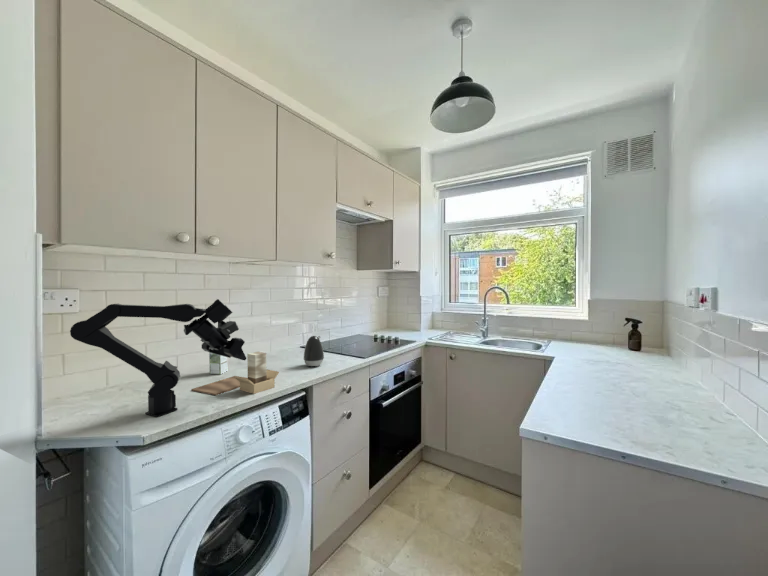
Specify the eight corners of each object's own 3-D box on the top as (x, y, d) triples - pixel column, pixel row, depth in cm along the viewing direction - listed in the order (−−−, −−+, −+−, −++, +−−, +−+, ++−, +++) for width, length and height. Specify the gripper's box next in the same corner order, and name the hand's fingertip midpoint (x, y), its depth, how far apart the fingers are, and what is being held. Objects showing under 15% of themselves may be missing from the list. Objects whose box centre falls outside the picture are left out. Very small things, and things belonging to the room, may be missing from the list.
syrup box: (228, 371, 151) (227, 341, 151) (220, 374, 145) (220, 343, 145) (216, 371, 152) (216, 341, 152) (208, 374, 146) (208, 343, 146)
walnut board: (216, 395, 117) (216, 393, 117) (191, 390, 123) (191, 389, 123) (258, 380, 136) (258, 379, 136) (234, 377, 141) (234, 375, 141)
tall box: (255, 391, 121) (255, 355, 121) (247, 389, 124) (247, 353, 124) (266, 387, 126) (266, 352, 126) (258, 385, 128) (258, 351, 128)
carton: (248, 395, 117) (248, 380, 117) (234, 391, 122) (233, 376, 122) (279, 385, 128) (279, 371, 128) (264, 382, 133) (264, 368, 133)
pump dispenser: (328, 364, 164) (327, 334, 164) (316, 369, 154) (315, 337, 154) (312, 362, 168) (311, 333, 168) (299, 367, 159) (299, 336, 159)
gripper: (239, 315, 109) (266, 342, 118) (209, 313, 119) (237, 338, 128) (216, 341, 102) (248, 368, 111) (187, 337, 112) (218, 362, 121)
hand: (238, 358), depth 118 cm, fingers open, 9 cm apart
